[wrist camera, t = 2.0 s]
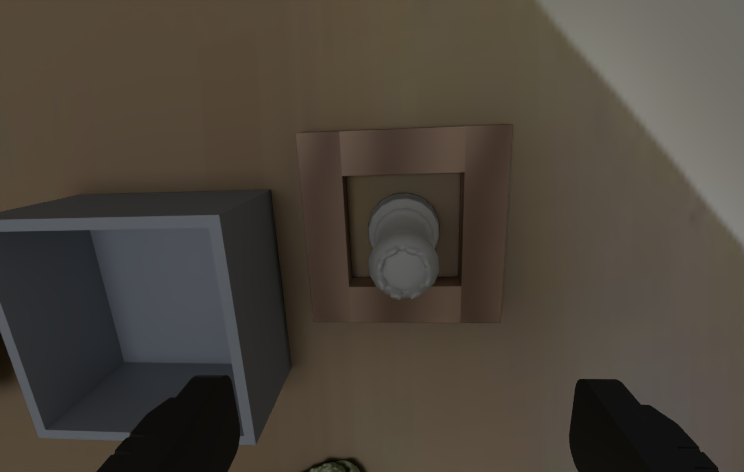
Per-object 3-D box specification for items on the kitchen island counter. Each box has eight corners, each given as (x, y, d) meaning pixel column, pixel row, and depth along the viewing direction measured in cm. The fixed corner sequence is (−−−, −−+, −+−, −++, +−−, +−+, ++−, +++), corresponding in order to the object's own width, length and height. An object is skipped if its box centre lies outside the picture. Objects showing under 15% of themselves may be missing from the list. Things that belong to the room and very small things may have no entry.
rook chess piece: (446, 249, 24) (466, 306, 16) (380, 266, 25) (370, 329, 17) (428, 182, 23) (441, 211, 15) (359, 202, 24) (338, 240, 16)
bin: (270, 189, 24) (219, 214, 17) (291, 367, 28) (255, 445, 21) (78, 194, 25) (-40, 220, 18) (123, 364, 29) (39, 437, 22)
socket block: (505, 124, 22) (513, 124, 20) (495, 311, 25) (500, 322, 24) (302, 132, 23) (295, 133, 21) (318, 311, 26) (313, 321, 25)
